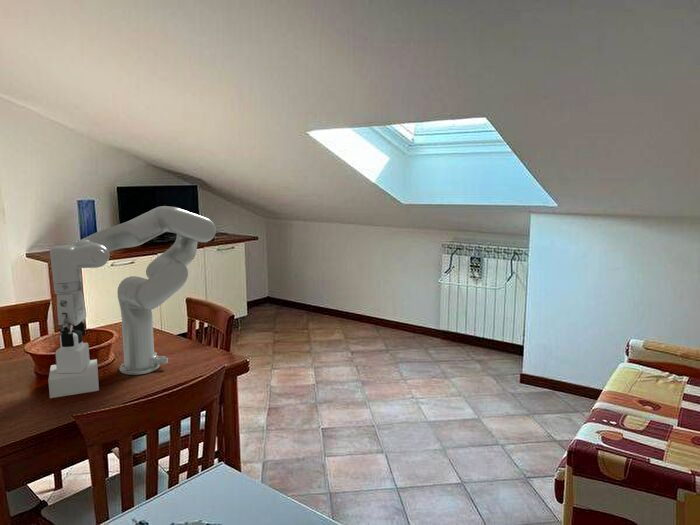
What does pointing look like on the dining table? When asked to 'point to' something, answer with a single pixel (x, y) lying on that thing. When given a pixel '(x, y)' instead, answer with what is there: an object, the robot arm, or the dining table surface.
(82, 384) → the grey block
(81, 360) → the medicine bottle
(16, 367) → the dining table surface
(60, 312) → the robot arm
